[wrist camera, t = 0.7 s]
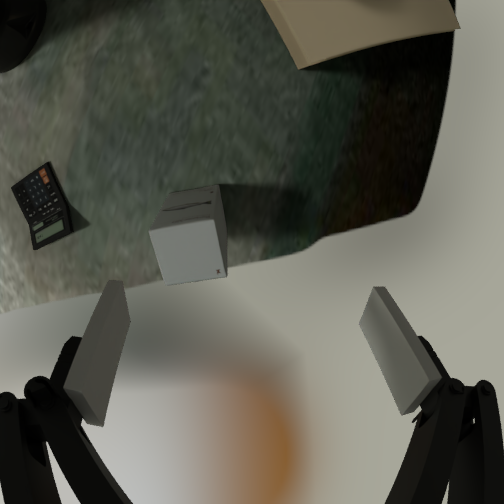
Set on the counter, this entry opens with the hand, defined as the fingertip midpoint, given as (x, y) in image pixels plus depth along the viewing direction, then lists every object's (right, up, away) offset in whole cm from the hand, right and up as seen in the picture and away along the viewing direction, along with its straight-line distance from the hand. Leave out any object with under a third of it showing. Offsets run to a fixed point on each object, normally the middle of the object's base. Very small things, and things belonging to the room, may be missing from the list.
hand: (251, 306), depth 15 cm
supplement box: (-8, +9, +27) cm, 30 cm away
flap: (+11, +30, +2) cm, 32 cm away
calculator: (-34, +10, +24) cm, 43 cm away
